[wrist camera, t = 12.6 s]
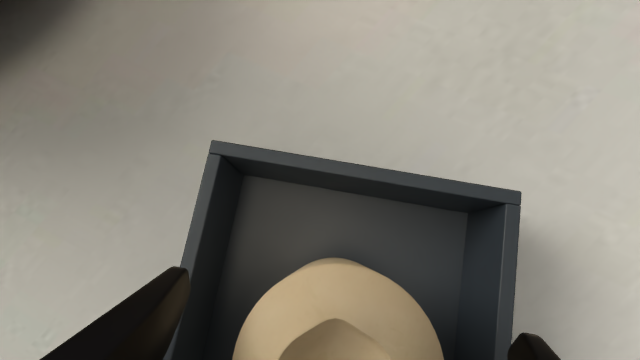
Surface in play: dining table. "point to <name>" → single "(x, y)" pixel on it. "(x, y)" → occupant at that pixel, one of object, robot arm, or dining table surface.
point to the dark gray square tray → (347, 245)
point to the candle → (337, 318)
